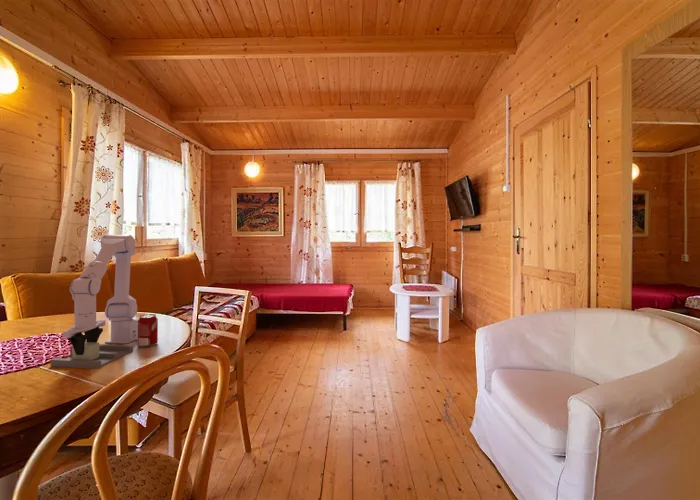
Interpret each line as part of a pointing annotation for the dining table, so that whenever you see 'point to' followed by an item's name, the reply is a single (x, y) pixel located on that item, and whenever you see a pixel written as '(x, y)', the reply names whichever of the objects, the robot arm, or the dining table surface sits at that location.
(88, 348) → the plug block
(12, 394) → the dining table surface
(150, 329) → the soda can
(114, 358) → the ribbed grey tray
